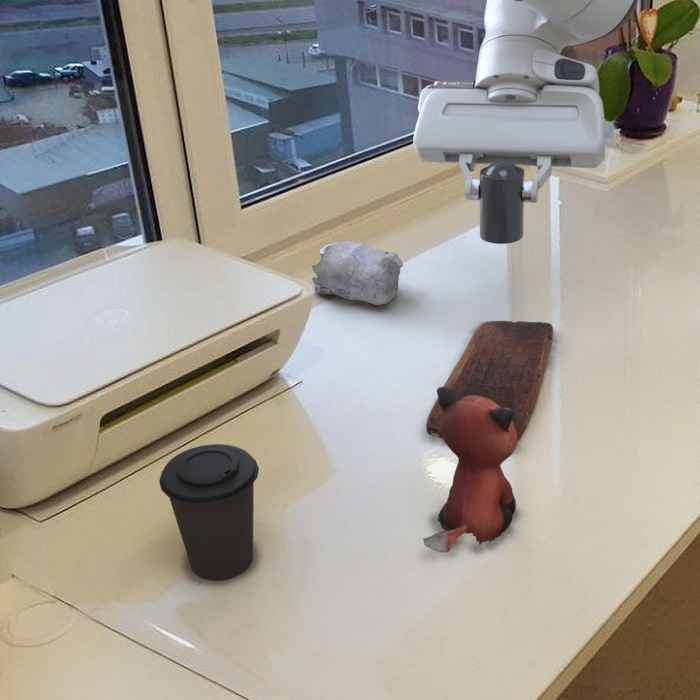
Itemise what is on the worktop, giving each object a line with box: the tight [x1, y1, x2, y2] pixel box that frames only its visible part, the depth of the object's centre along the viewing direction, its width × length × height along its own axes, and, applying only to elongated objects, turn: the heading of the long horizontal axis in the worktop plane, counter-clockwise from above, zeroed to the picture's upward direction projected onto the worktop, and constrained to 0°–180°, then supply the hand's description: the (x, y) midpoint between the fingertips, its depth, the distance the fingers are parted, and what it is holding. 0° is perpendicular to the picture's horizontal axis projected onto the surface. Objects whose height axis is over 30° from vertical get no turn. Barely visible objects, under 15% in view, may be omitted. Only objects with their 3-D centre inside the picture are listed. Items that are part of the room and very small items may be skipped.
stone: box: [311, 238, 404, 306], centre depth 134 cm, size 8×12×7 cm, turn 60°
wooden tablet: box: [425, 320, 554, 443], centre depth 114 cm, size 26×2×10 cm
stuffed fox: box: [422, 386, 518, 553], centre depth 90 cm, size 8×11×12 cm
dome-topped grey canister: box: [479, 161, 525, 245], centre depth 112 cm, size 5×5×8 cm
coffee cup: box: [158, 443, 260, 581], centre depth 89 cm, size 8×8×10 cm
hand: (501, 199), depth 112 cm, fingers closed on dome-topped grey canister, 4 cm apart
